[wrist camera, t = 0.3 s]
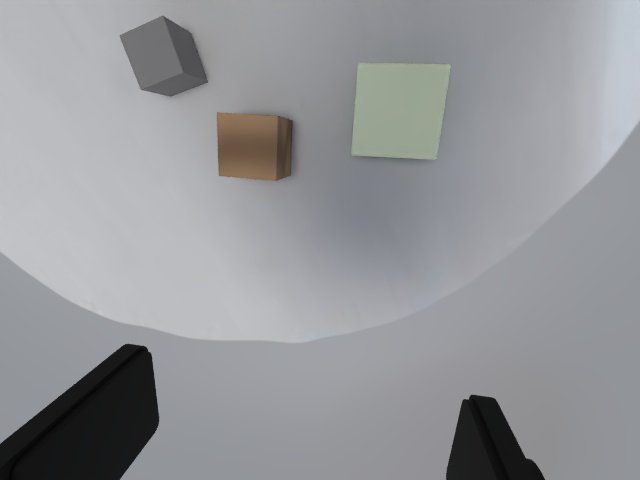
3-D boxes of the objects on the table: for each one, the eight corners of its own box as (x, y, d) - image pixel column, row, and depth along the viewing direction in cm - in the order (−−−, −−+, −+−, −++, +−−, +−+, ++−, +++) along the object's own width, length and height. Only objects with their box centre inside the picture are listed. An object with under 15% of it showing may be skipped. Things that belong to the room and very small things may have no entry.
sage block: (359, 74, 33) (357, 62, 28) (438, 75, 32) (451, 64, 27) (353, 153, 35) (351, 155, 31) (427, 157, 34) (436, 159, 30)
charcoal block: (153, 49, 35) (119, 35, 30) (191, 33, 34) (162, 15, 29) (170, 96, 36) (140, 89, 32) (208, 82, 35) (183, 72, 31)
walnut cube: (241, 117, 36) (216, 112, 30) (292, 120, 35) (277, 116, 29) (241, 171, 38) (218, 175, 32) (290, 175, 37) (276, 180, 31)
